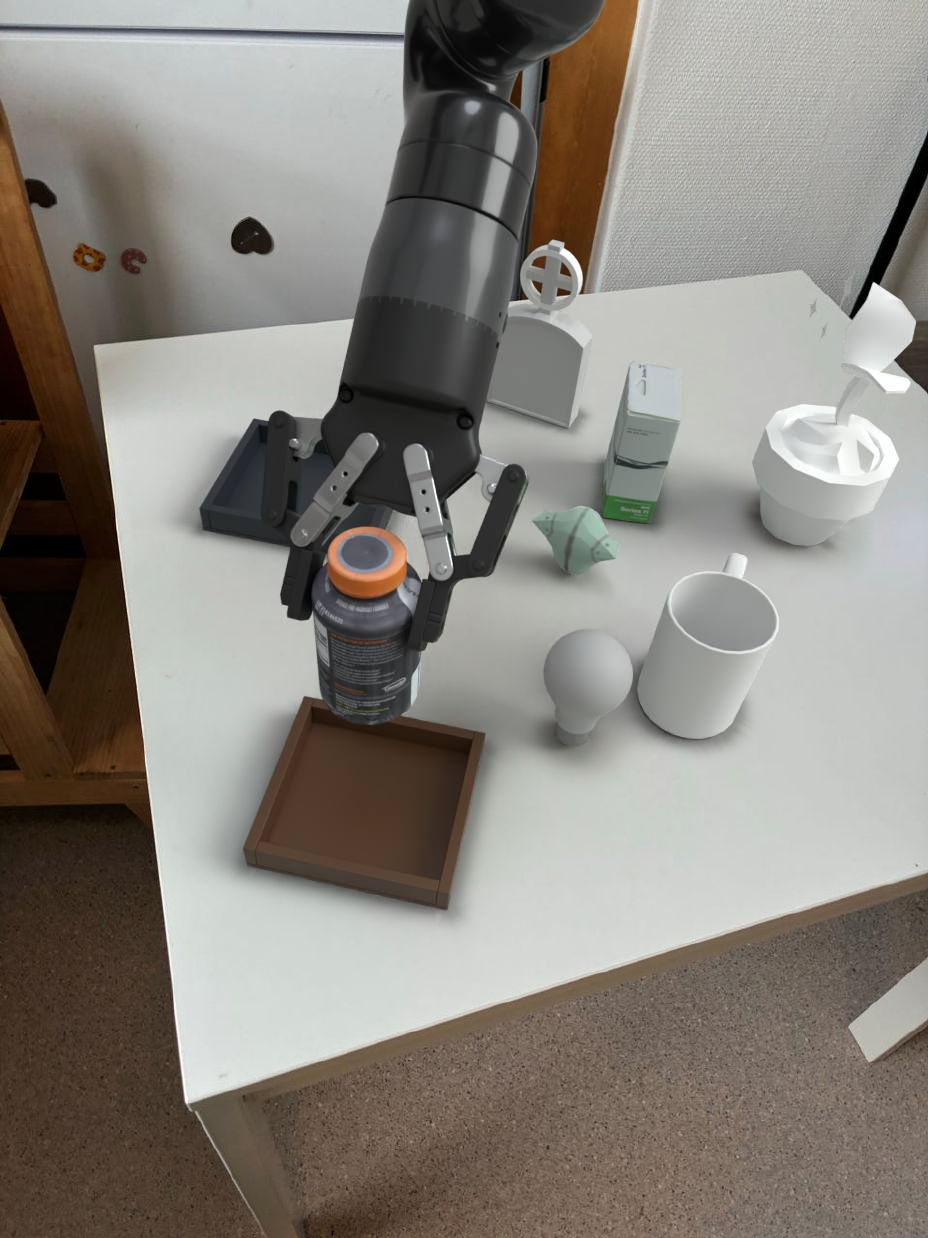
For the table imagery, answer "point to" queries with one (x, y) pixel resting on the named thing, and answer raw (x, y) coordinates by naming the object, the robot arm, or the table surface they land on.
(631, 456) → the ink box
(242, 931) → the table surface
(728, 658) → the mug
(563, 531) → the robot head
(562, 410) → the gravestone
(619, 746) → the table surface
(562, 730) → the lightbulb
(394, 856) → the near tray
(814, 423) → the potted plant
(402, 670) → the pill bottle
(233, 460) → the far tray
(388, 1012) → the table surface
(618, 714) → the table surface
